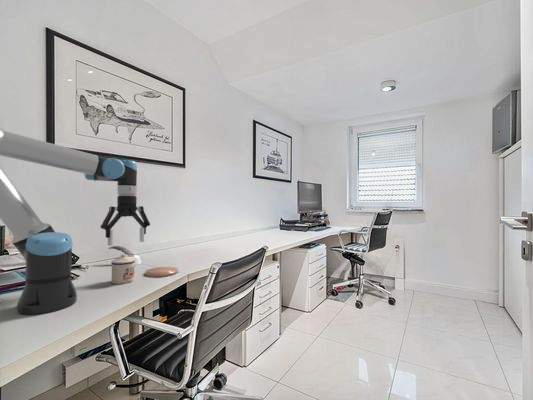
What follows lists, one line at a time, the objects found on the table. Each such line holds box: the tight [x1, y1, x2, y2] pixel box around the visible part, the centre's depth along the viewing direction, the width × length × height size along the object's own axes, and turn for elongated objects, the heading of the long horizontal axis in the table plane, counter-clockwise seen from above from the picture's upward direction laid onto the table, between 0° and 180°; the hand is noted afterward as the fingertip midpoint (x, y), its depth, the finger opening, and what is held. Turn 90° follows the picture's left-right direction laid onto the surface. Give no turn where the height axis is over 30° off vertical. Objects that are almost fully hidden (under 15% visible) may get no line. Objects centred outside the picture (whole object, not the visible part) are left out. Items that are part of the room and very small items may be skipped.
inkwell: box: [108, 245, 142, 266], centre depth 147 cm, size 9×18×10 cm, turn 95°
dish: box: [144, 266, 179, 278], centre depth 129 cm, size 15×15×1 cm
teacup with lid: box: [111, 253, 136, 285], centre depth 116 cm, size 12×9×12 cm
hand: (126, 243), depth 117 cm, fingers open, 13 cm apart
